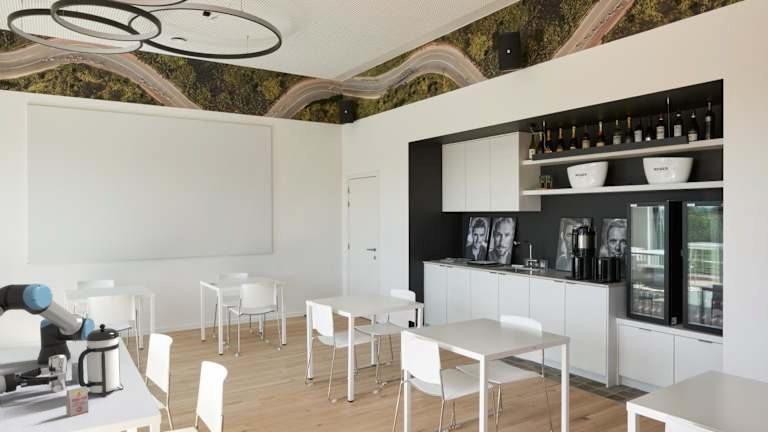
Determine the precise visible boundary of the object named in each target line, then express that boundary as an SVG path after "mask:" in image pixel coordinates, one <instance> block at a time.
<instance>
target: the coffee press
mask: <svg viewBox="0 0 768 432" xmlns="http://www.w3.org/2000/svg"><path fill="white" fill-rule="evenodd" d="M119 336H120V333H119V332H118V331H117V330H116V329H114V328H109V327H108V328H107V327H106V324H105V323H101V324H100V325H99V328H98V329H94V331H92V332H90V333H89V334H88V335H87V337H86V340H85V341H86V349H84V350H83V351H82V352H81V353H80V354H79V357H78V359H77V360H78V361H77V363H78V380H79V384H78V385H79V386H80V387H85V386H87V391H88V390H89V392H87V394H88V396H90V394H91V393H93V394H94V393H96V394H102V398H105V397H107V392H111V391H114V390H116V389H119V390H121V391H123V390H124V385H123V384H122V382H121V379H120V373H121V371H120V370H121V367H120V365H121V363H120V342H119ZM85 357H87V359H86V367H87V368H86V369H87V370H86V371H87V383H86V382H85V378H84V377H85V374H84V373H85V372H84V371H85V370H84V359H85ZM119 386H121V387H122V388H121V387H119Z"/></svg>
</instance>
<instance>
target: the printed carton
mask: <svg viewBox="0 0 768 432" xmlns="http://www.w3.org/2000/svg"><path fill="white" fill-rule="evenodd" d="M87 389H88V388H87V386H85V387H81V386H80V387H77V388H76V387H75V388H73V389H68V390H67V389H66V398H65V407H66V408H65V409H66V411H65V413H66V416H67V417H68V418H72V417H76V416H79V415H83V414H87V413H89V412H90V411H89V395H88V390H87Z"/></svg>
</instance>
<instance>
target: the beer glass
mask: <svg viewBox="0 0 768 432" xmlns="http://www.w3.org/2000/svg"><path fill="white" fill-rule="evenodd" d="M48 368H49V374H48V375H49V376H50V375H54V374H59V373H64V372H66V373H67V371H68V360H67V359H66V355H55V356H51V357H49V364H48ZM50 383H51V387H50V392H51V393H60V392H64V391H67V389H68V387H67V383H66V379H62V380H58V381H53V382H50Z"/></svg>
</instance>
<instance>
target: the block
mask: <svg viewBox="0 0 768 432" xmlns="http://www.w3.org/2000/svg"><path fill="white" fill-rule="evenodd" d="M71 381H72V382H74V384H76V385H80V384H79V380H78V362H73V363H71Z"/></svg>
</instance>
